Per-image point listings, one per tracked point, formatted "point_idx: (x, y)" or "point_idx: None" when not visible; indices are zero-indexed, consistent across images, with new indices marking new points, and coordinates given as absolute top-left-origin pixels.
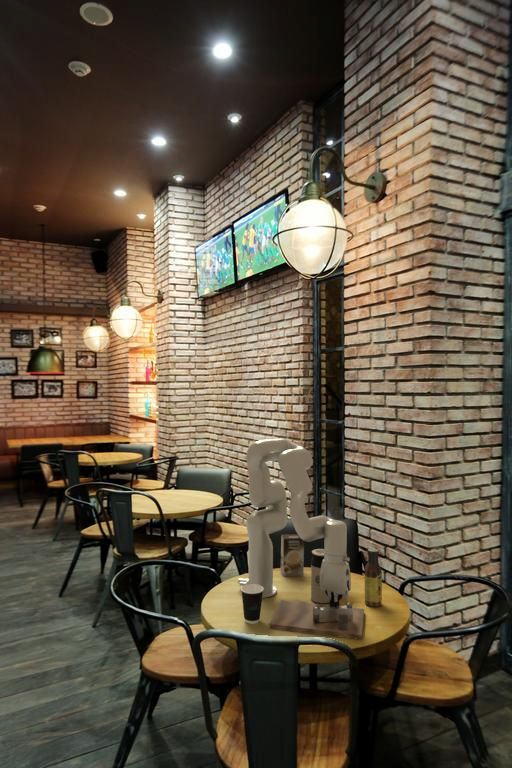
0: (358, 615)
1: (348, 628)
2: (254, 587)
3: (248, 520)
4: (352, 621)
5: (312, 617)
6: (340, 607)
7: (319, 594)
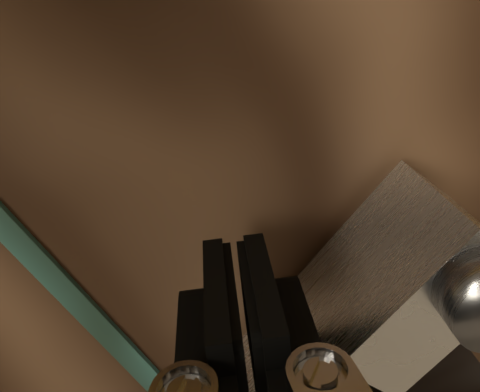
0: (438, 14)
1: None
2: None
3: None
4: None
5: (97, 384)
6: (382, 379)
7: None
